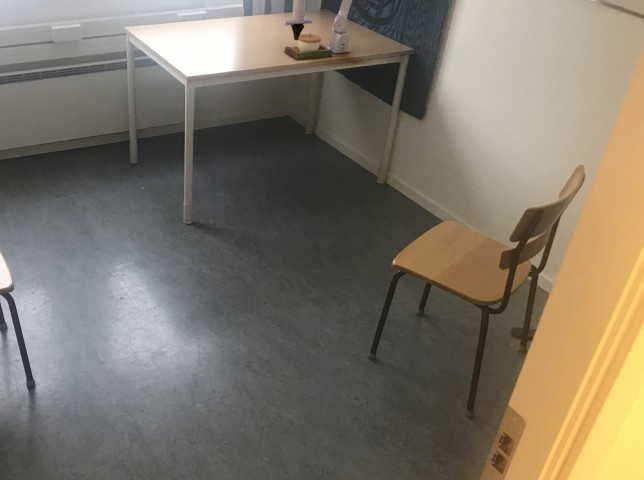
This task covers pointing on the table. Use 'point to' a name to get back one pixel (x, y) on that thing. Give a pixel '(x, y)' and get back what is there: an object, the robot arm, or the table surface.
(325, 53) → the olive green tray
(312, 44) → the trinket box
